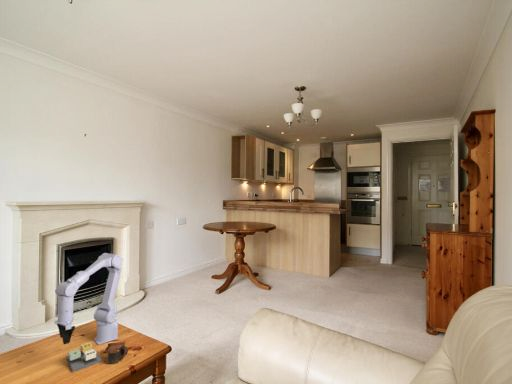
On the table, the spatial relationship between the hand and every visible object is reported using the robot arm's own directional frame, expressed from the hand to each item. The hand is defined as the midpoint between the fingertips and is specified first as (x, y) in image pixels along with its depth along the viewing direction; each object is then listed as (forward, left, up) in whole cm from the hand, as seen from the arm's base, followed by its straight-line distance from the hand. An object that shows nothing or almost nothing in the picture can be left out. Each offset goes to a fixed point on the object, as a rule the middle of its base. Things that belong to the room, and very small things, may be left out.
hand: (64, 340), depth 125 cm
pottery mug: (-18, +12, -10) cm, 24 cm away
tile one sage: (-3, +4, -7) cm, 9 cm away
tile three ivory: (-8, +8, -7) cm, 14 cm away
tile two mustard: (-9, 0, -7) cm, 11 cm away
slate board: (-7, +4, -10) cm, 13 cm away
